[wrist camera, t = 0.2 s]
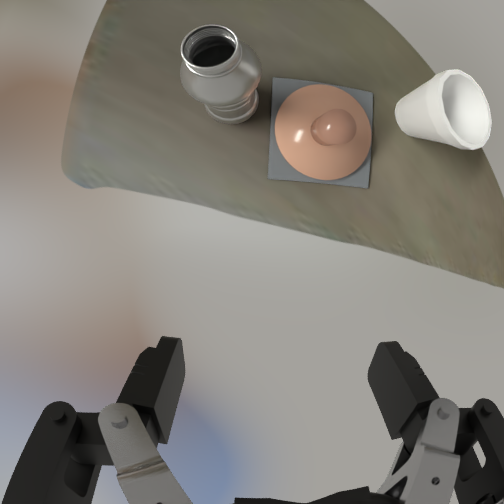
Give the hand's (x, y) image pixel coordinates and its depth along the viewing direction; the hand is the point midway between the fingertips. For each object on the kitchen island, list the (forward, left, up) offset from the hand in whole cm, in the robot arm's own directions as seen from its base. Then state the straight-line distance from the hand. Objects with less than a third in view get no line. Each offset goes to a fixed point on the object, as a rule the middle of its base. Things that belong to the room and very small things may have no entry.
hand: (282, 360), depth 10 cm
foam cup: (-17, +21, -28) cm, 39 cm away
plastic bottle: (-15, -5, -28) cm, 32 cm away
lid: (-12, +7, -28) cm, 31 cm away
